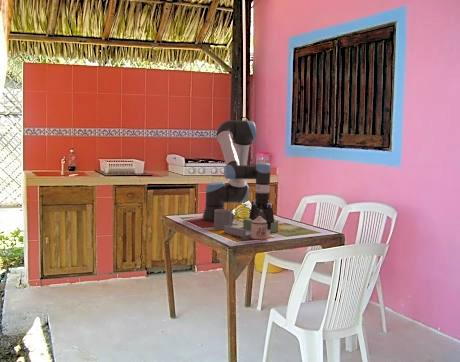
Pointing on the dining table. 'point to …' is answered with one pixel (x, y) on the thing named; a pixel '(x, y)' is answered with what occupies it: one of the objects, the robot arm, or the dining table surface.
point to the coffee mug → (222, 218)
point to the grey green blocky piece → (248, 227)
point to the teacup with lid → (258, 228)
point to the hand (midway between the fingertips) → (260, 233)
